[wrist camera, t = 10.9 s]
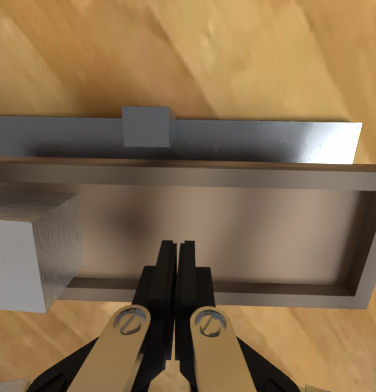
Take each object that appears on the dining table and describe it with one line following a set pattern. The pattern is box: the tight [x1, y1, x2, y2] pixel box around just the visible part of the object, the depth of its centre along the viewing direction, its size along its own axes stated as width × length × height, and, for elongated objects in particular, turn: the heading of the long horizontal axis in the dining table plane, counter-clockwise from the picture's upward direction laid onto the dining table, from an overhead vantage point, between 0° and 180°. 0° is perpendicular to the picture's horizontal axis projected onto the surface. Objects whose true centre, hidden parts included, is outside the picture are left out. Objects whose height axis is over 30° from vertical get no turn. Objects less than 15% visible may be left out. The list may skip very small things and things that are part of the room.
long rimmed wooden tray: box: [0, 156, 376, 309], centre depth 14 cm, size 28×9×2 cm, turn 89°
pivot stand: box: [0, 106, 362, 164], centre depth 17 cm, size 31×15×7 cm, turn 89°
